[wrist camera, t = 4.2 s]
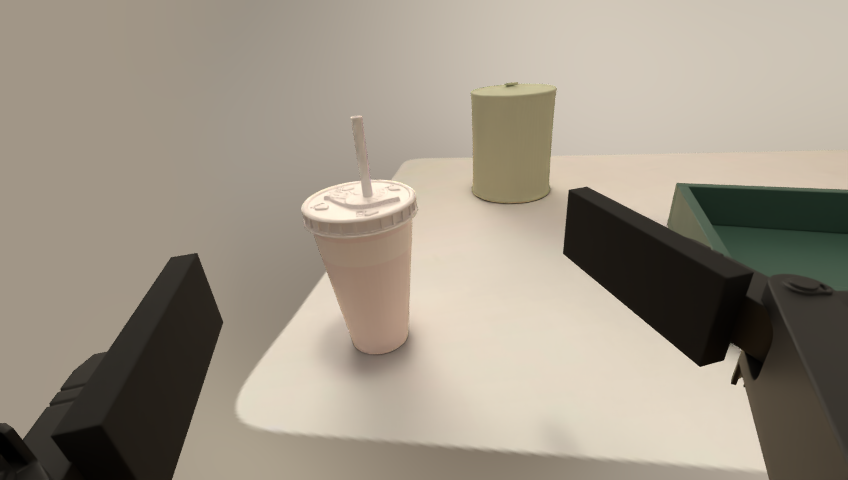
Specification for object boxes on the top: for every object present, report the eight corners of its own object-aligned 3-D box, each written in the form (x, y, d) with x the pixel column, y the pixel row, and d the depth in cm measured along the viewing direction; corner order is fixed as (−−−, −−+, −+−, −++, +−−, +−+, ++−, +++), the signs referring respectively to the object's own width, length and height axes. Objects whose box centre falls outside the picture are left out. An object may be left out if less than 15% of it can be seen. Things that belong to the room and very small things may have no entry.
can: (542, 175, 52) (548, 77, 47) (557, 202, 44) (567, 86, 39) (471, 178, 53) (469, 82, 48) (473, 205, 45) (471, 92, 40)
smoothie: (411, 378, 23) (381, 130, 17) (312, 361, 25) (252, 132, 18) (439, 311, 28) (425, 104, 22) (357, 301, 30) (322, 107, 24)
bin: (1139, 403, 18) (1212, 333, 17) (712, 340, 24) (731, 282, 22) (903, 240, 32) (928, 192, 30) (667, 224, 38) (676, 182, 36)
